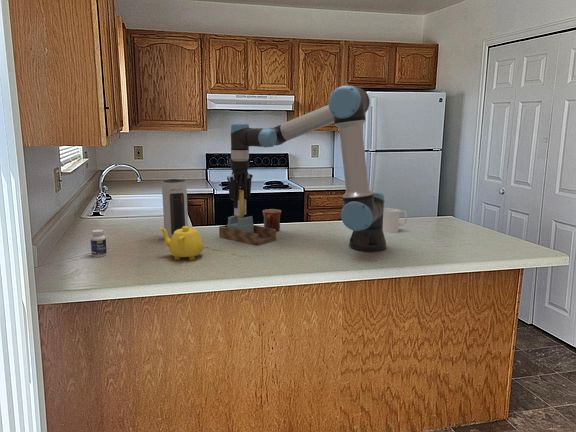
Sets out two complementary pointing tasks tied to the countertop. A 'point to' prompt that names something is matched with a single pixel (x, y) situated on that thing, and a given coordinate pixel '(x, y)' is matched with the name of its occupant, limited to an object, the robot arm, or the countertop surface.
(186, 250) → the teapot
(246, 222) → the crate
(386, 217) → the cup
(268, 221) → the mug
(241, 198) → the peg
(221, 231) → the bay
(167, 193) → the speaker
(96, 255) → the pill bottle
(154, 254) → the countertop surface
